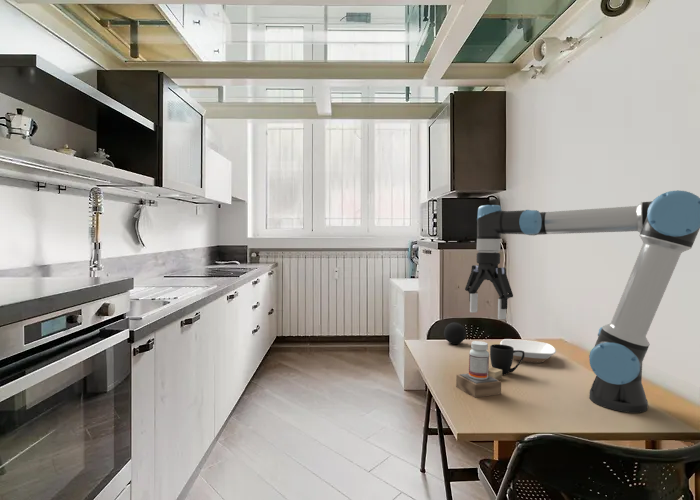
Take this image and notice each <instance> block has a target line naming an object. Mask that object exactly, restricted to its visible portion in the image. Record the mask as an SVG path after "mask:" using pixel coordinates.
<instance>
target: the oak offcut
mask: <svg viewBox="0 0 700 500" xmlns="http://www.w3.org/2000/svg"><path fill="white" fill-rule="evenodd" d="M488 376H491V377H493V378H495V379H497V380H498V379H499V380H502V379H503V374H502V370H501V369H497V368H494V367H492V366H489V371H488Z"/></svg>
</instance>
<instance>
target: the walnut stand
mask: <svg viewBox="0 0 700 500" xmlns="http://www.w3.org/2000/svg"><path fill="white" fill-rule="evenodd" d="M455 386H456V388H457V389H459V390H461V391H463V392H465V393H466V394H468V395H469V396H472V397H474V398H482V397H488V396H497V395H501V394H502V381H501V380H500V379H499V380H497V379H495V378H493V377H491V376H488V378H487V379H485V380H477V379H473V378H471V377H470V376H469V372H468V373H462V374H461V373H460V374H456V381H455Z"/></svg>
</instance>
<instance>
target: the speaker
mask: <svg viewBox="0 0 700 500" xmlns="http://www.w3.org/2000/svg"><path fill="white" fill-rule="evenodd" d="M443 335H444V338H445V340H446V341H447V342H448V343H450V344H452V345H458V344H461V343H463V341H465V338H466V335H467V333H466V328H465V327H464V326H463V325H462V324H461V323H459V322H454V321H453V322H450V323H448V324H447V325H446V326H445V327H444V330H443Z"/></svg>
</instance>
